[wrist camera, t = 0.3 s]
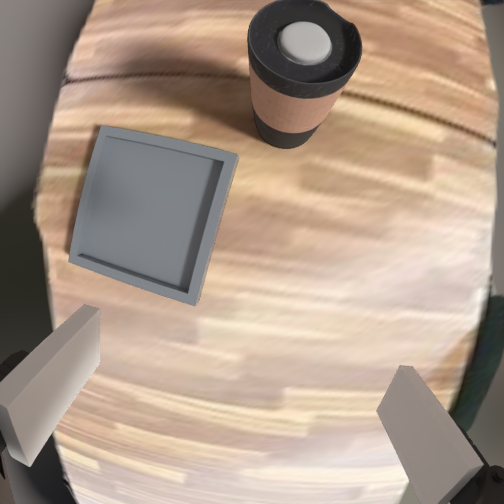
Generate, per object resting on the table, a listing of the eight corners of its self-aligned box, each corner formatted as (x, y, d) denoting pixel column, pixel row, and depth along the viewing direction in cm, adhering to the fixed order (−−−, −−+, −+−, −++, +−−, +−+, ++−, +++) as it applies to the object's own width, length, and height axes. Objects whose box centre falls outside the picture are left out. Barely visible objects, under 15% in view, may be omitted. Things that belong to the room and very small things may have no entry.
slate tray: (109, 129, 37) (101, 125, 34) (239, 158, 37) (237, 154, 34) (77, 259, 39) (68, 261, 36) (199, 300, 39) (195, 306, 36)
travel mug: (253, 151, 37) (245, 85, 17) (253, 93, 36) (245, -6, 16) (317, 152, 36) (371, 92, 16) (314, 94, 35) (356, 1, 16)
